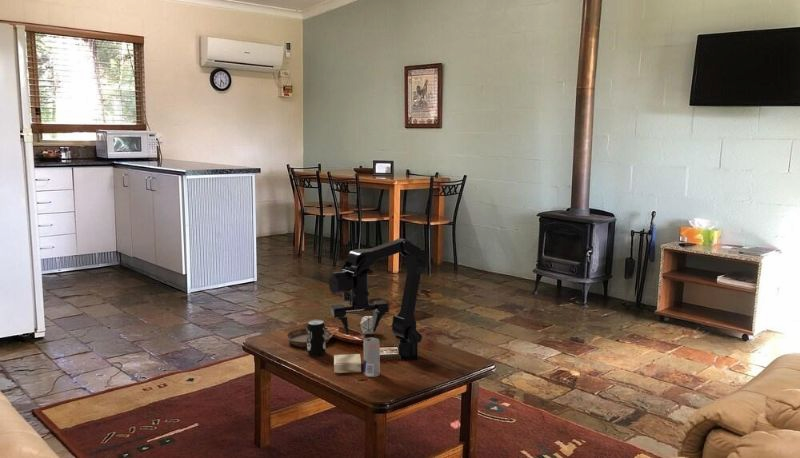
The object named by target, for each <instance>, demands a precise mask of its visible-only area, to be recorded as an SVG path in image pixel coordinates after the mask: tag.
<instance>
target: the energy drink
mask: <svg viewBox="0 0 800 458" xmlns="http://www.w3.org/2000/svg"><path fill="white" fill-rule="evenodd" d="M362 343H363V375H364V376H365V377H368V378H375V377H376V378H377V377H378V376H380V374H381V364H380V363H381V360H380V359H381V357H380V354H381V353H380V351H381V349H380V348H381V346H380V339H379V338H377V337H373V336H372V337H366V338H364V340H363V342H362Z"/></svg>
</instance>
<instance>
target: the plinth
mask: <svg viewBox="0 0 800 458" xmlns="http://www.w3.org/2000/svg"><path fill="white" fill-rule="evenodd" d="M361 360H362V359H361V354H360V353H351V354H349V353H348V354H334V355H333V369H334V370H333V371H334V372H333V373H334V374H343V373H345V374H346V373H362V362H361Z"/></svg>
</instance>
